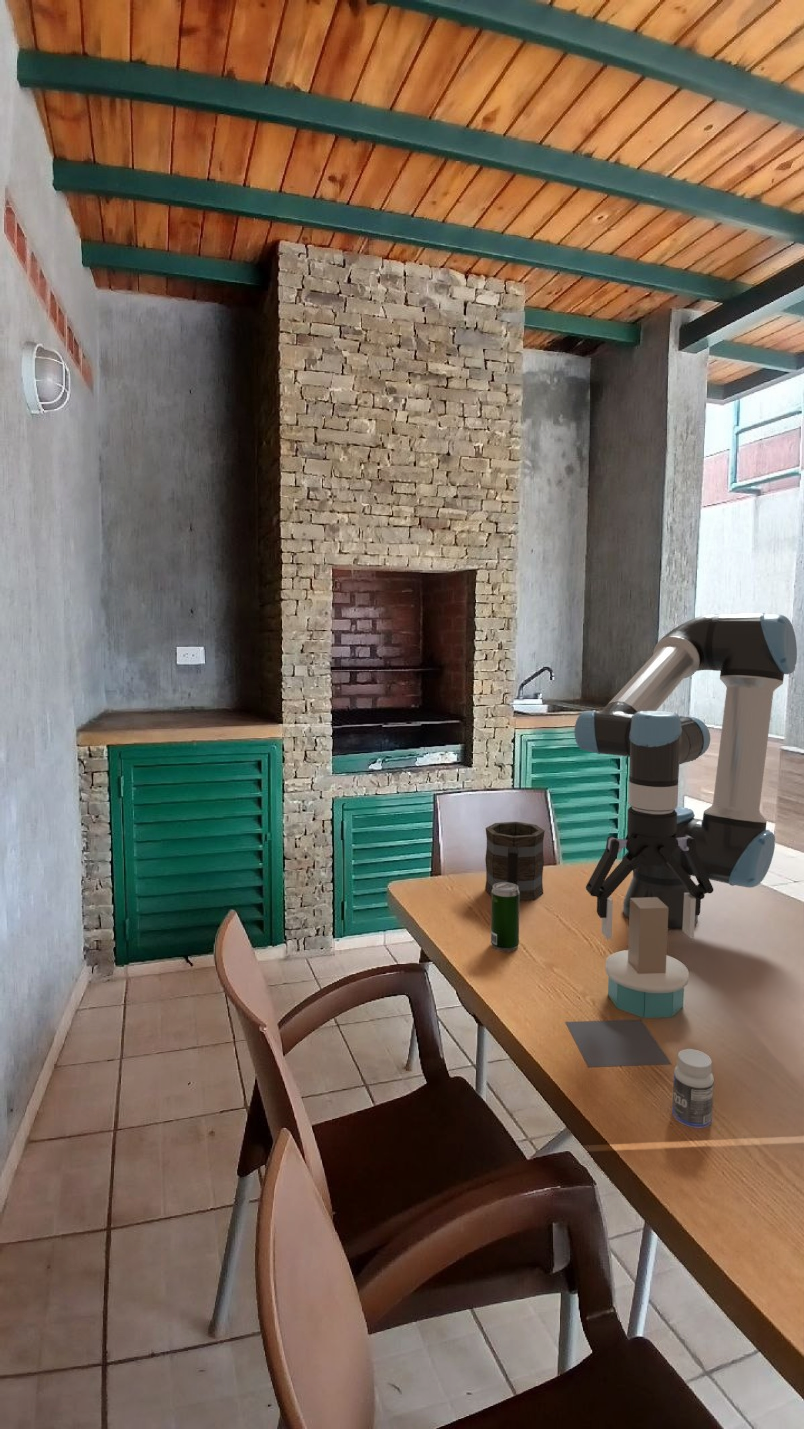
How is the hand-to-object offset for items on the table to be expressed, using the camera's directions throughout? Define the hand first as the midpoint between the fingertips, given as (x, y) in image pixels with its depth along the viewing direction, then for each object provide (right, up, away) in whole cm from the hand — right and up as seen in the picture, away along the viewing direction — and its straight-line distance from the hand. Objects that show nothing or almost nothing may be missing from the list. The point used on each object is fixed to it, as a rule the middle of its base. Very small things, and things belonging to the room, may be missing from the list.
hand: (647, 935), depth 123 cm
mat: (-8, -13, -11) cm, 19 cm away
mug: (-15, -6, +49) cm, 52 cm away
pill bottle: (-3, -16, -28) cm, 32 cm away
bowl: (0, -12, +1) cm, 12 cm away
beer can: (-20, -9, +23) cm, 32 cm away
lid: (0, -7, +1) cm, 7 cm away
